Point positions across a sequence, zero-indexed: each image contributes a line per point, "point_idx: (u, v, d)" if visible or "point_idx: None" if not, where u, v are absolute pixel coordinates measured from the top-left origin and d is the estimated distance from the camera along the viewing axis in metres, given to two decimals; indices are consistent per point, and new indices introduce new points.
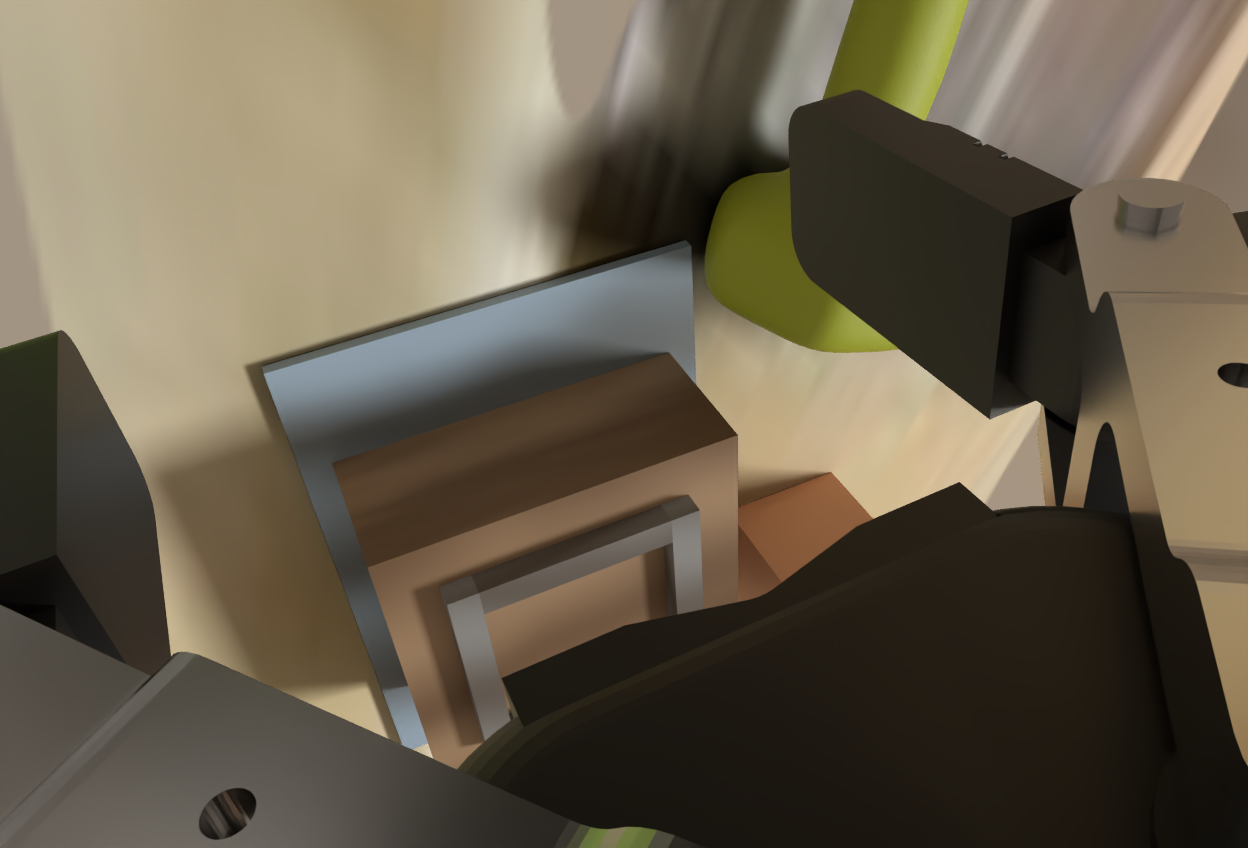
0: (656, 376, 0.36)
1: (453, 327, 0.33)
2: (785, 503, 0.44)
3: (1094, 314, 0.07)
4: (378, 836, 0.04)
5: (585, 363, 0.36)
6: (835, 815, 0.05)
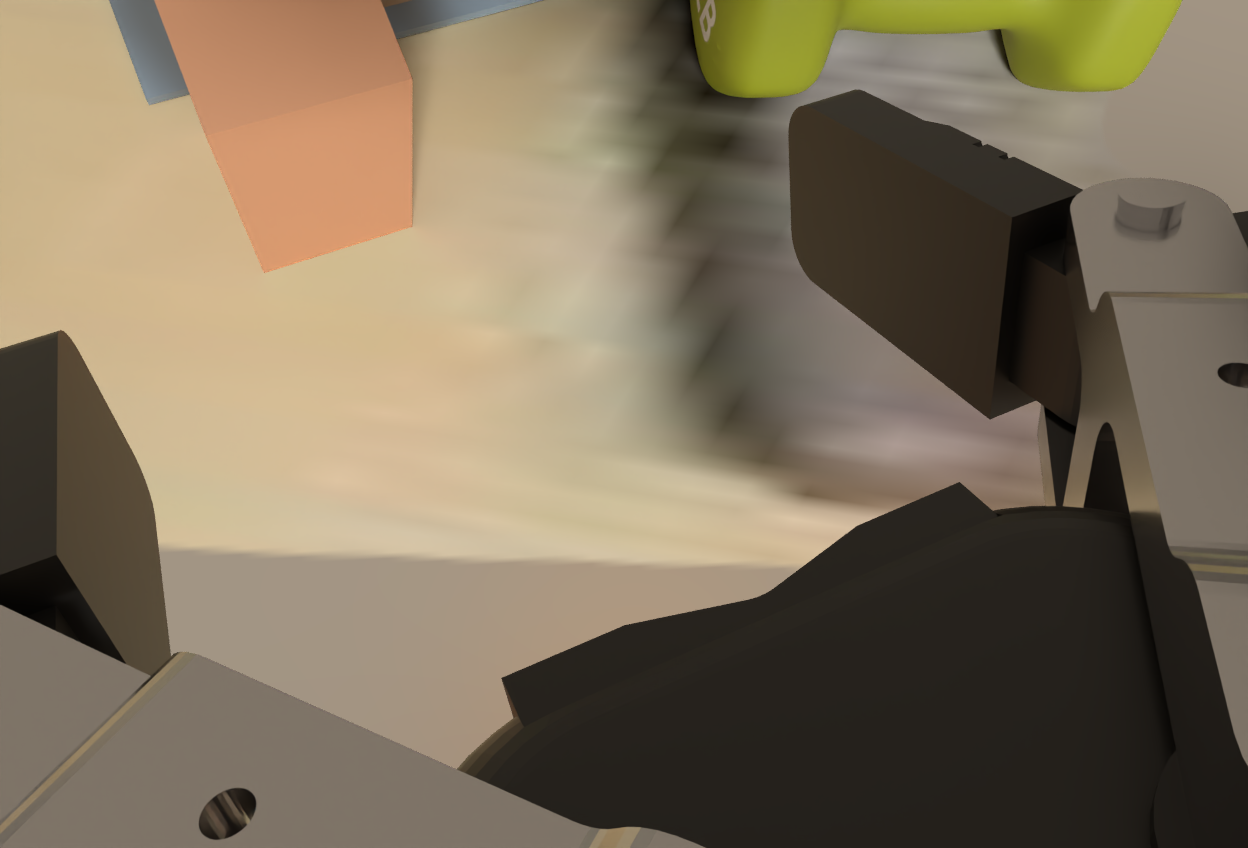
0: None
1: None
2: None
3: (1095, 314, 0.07)
4: (377, 836, 0.04)
5: None
6: (836, 818, 0.05)
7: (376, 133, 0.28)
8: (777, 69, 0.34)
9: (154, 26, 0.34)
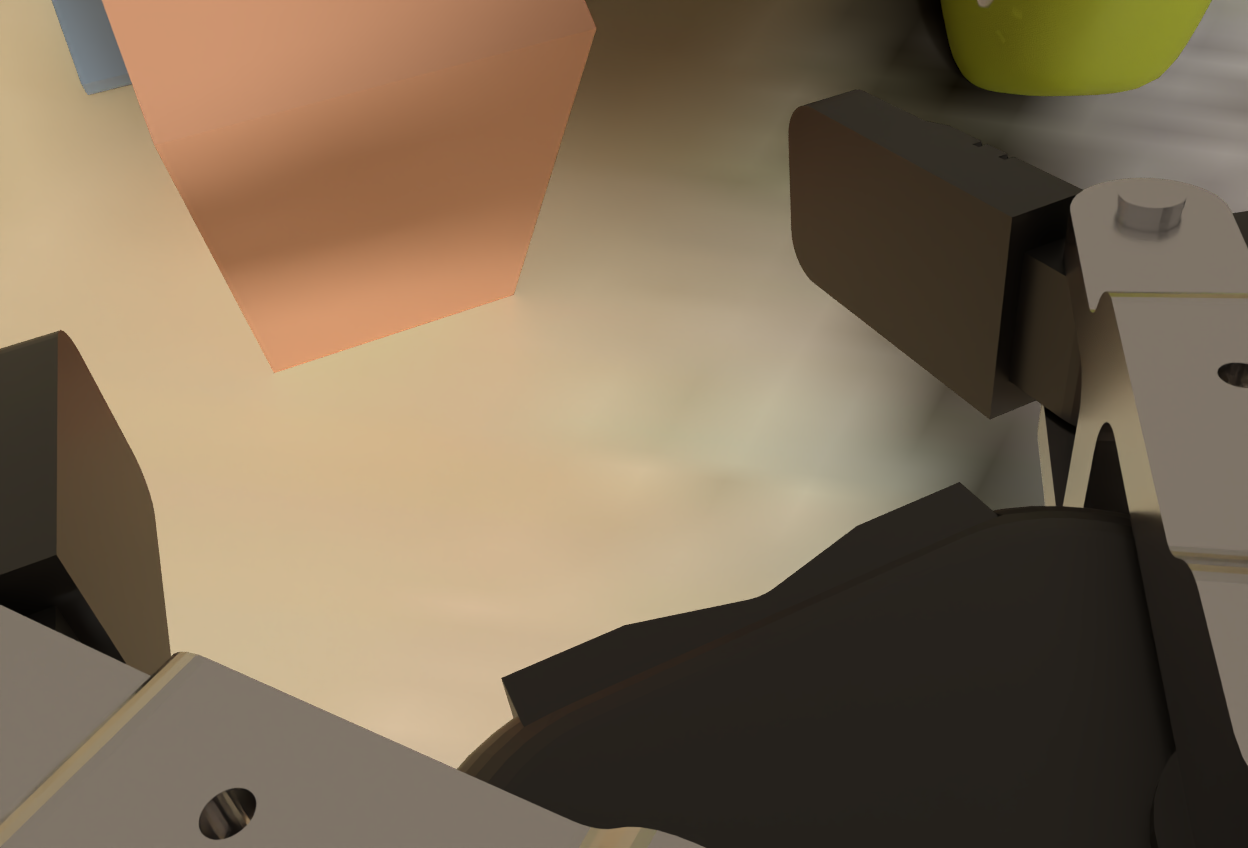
0: None
1: None
2: None
3: (1094, 314, 0.07)
4: (377, 837, 0.04)
5: None
6: (835, 817, 0.05)
7: (500, 143, 0.14)
8: (1125, 47, 0.21)
9: None
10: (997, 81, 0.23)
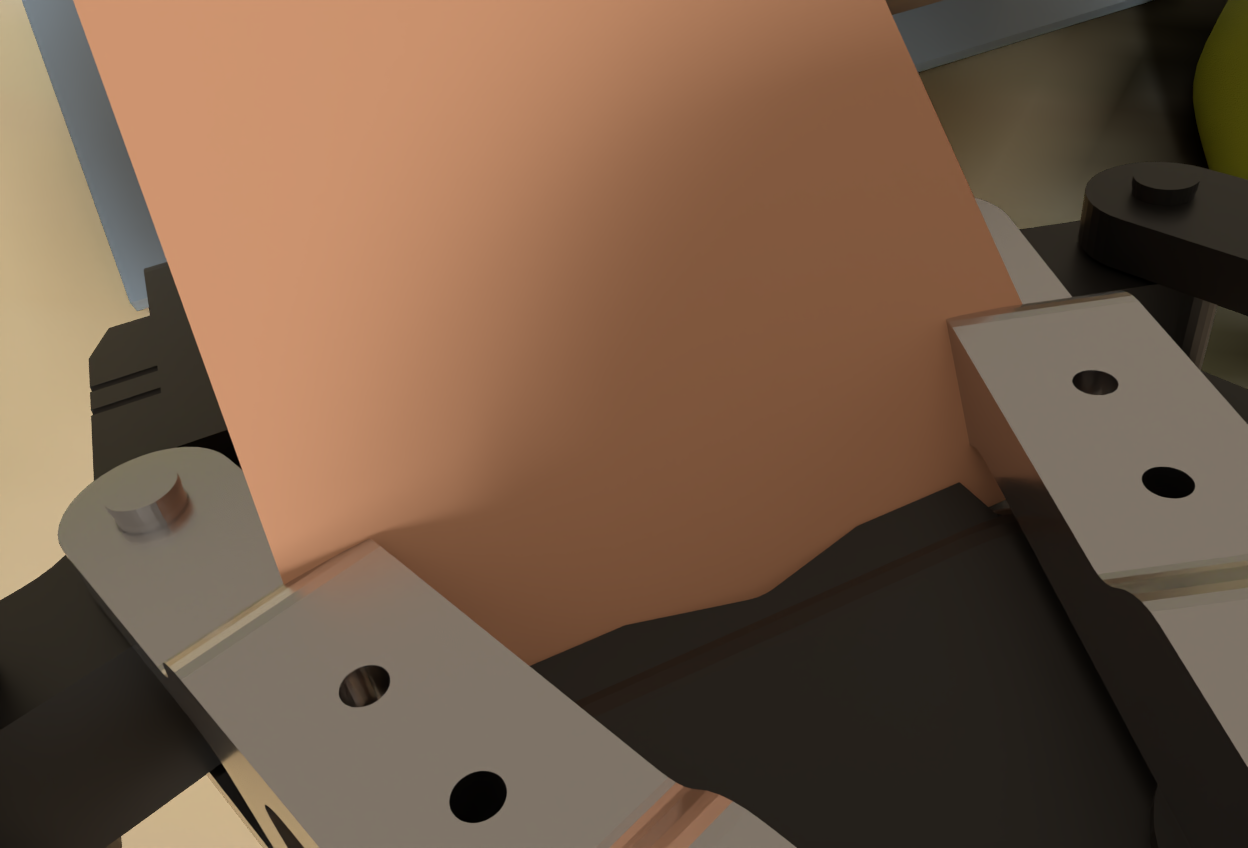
0: None
1: None
2: None
3: None
4: (484, 739, 0.05)
5: None
6: (833, 817, 0.05)
7: None
8: None
9: None
10: None
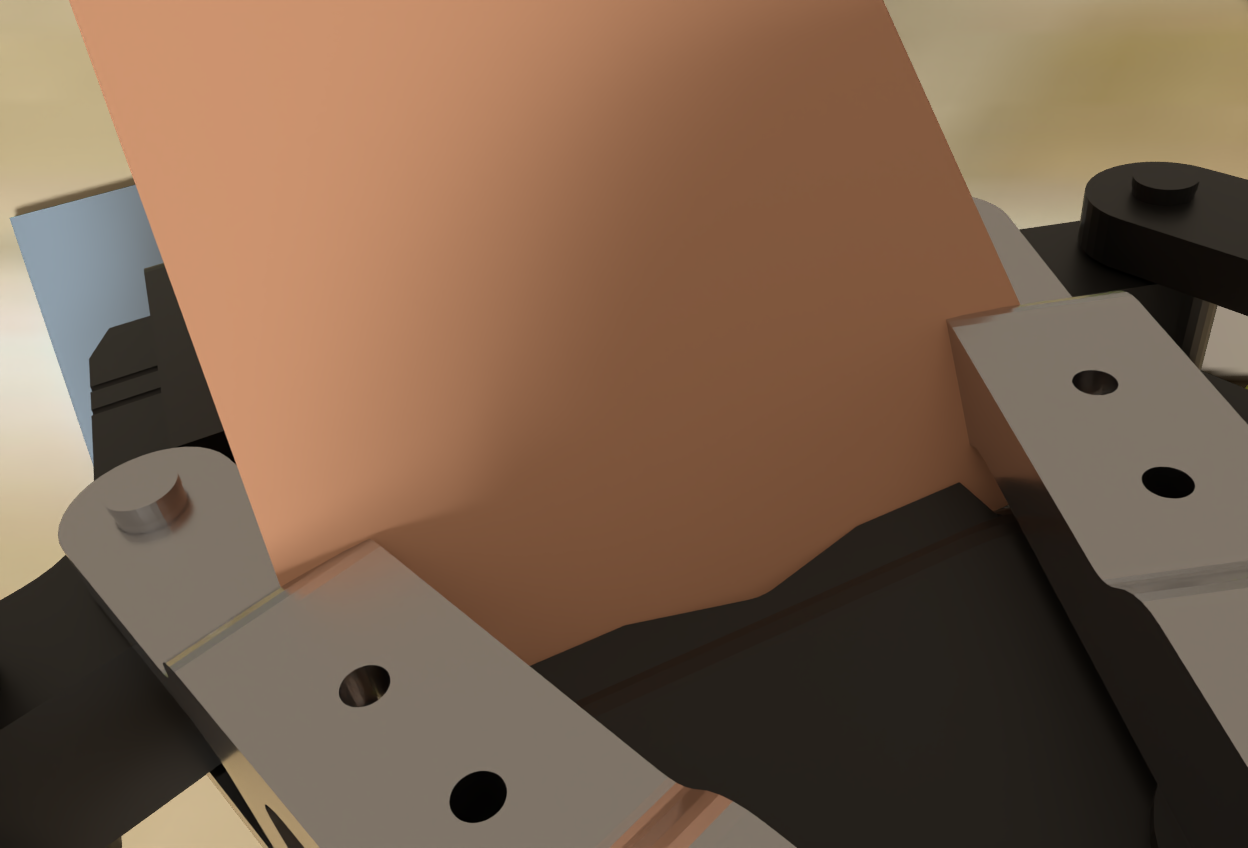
0: None
1: None
2: None
3: None
4: (484, 739, 0.05)
5: None
6: (833, 817, 0.05)
7: None
8: None
9: None
10: None
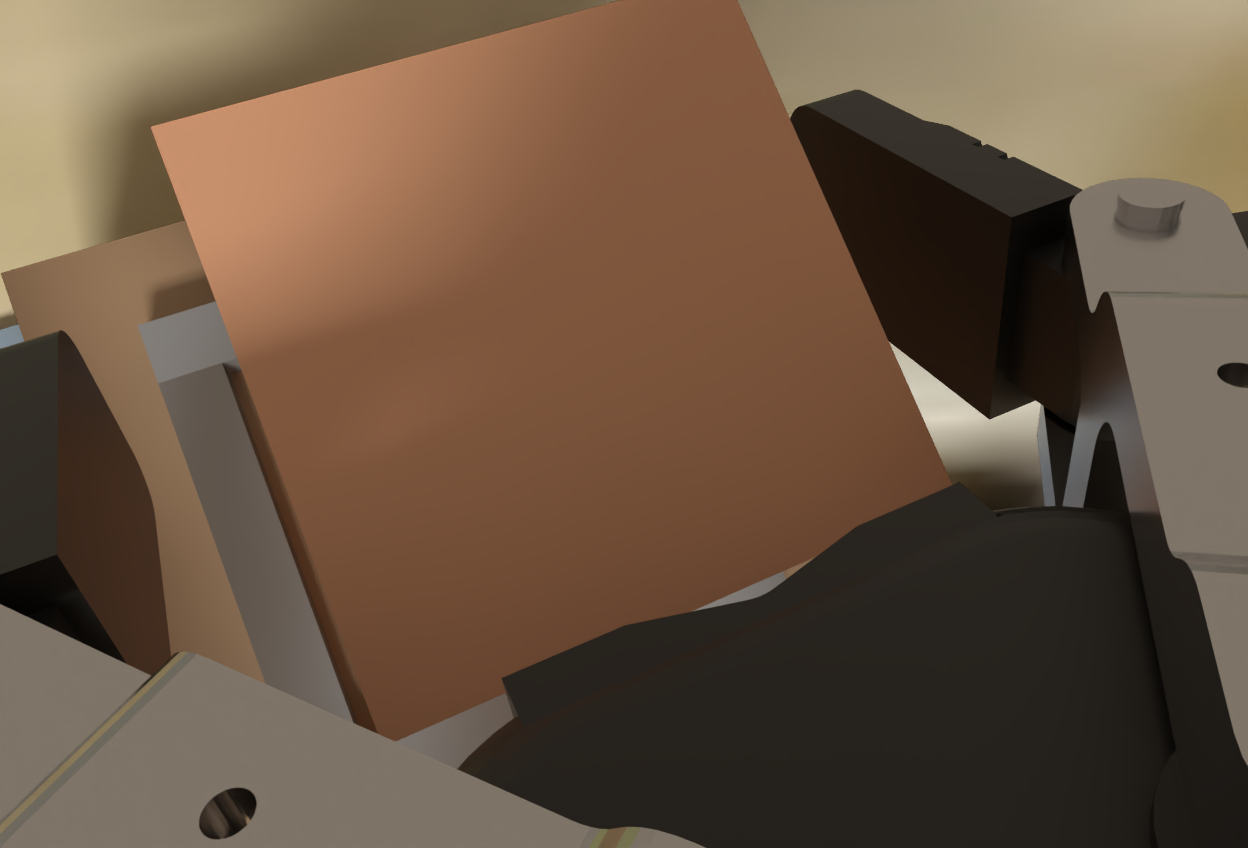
0: None
1: None
2: None
3: (1094, 314, 0.07)
4: (378, 835, 0.04)
5: None
6: (835, 817, 0.05)
7: None
8: None
9: None
10: None
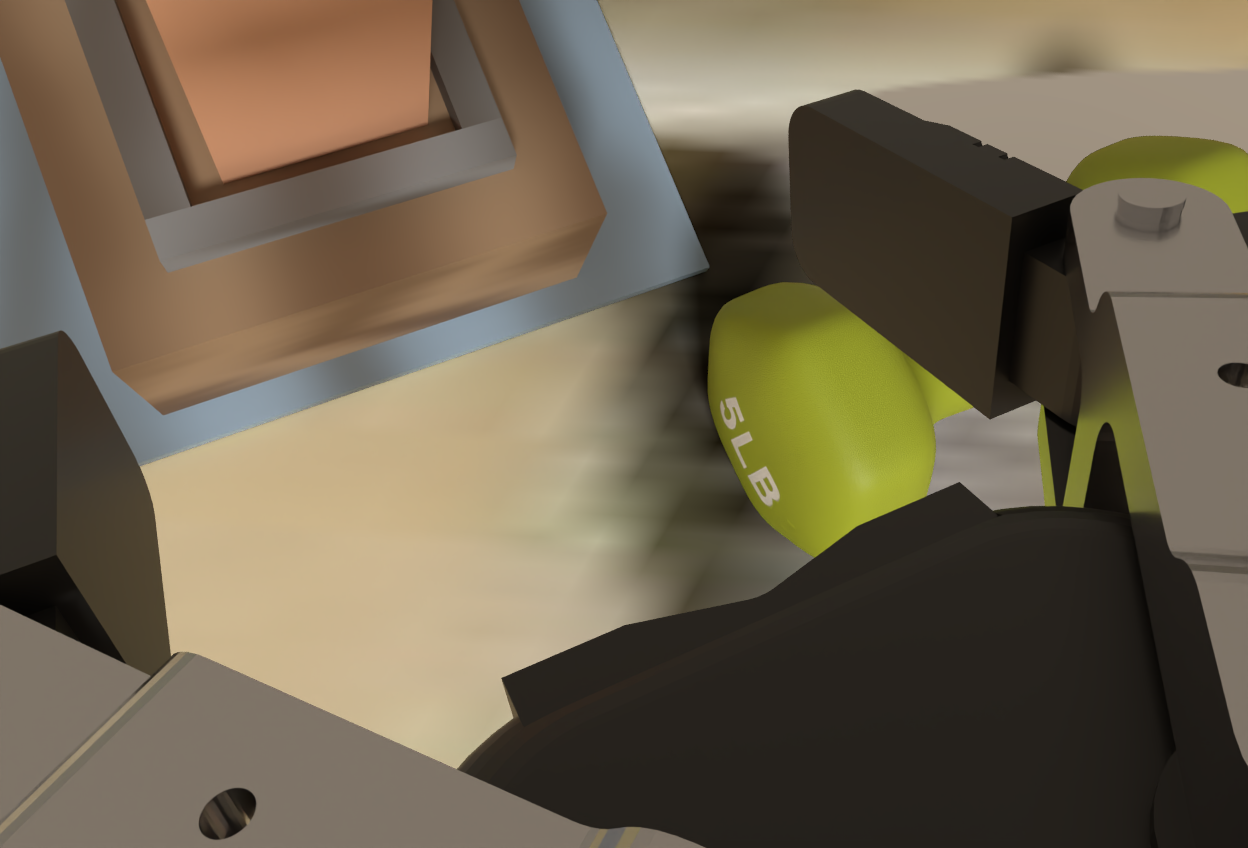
0: None
1: (597, 30, 0.33)
2: None
3: (1094, 315, 0.07)
4: (378, 836, 0.04)
5: None
6: (836, 816, 0.05)
7: None
8: None
9: None
10: None
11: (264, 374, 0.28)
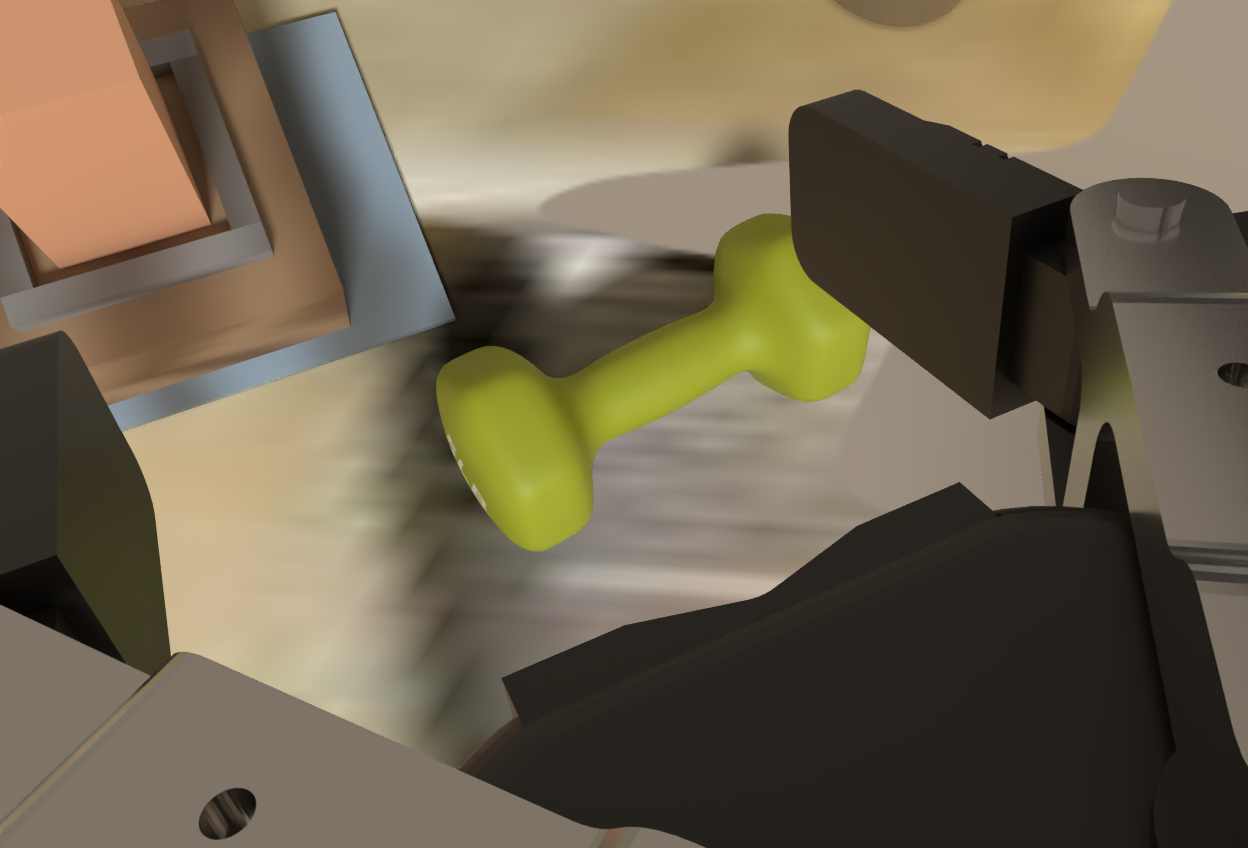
0: None
1: (375, 137, 0.43)
2: (181, 146, 0.36)
3: (1094, 314, 0.07)
4: (377, 836, 0.04)
5: (339, 250, 0.42)
6: (834, 818, 0.05)
7: (125, 133, 0.29)
8: (555, 534, 0.38)
9: None
10: None
11: (106, 400, 0.39)
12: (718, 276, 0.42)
